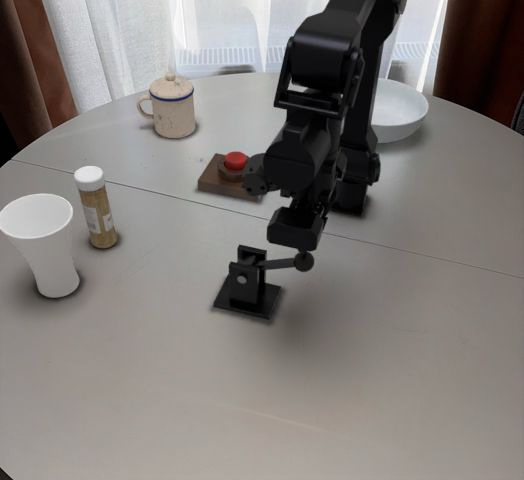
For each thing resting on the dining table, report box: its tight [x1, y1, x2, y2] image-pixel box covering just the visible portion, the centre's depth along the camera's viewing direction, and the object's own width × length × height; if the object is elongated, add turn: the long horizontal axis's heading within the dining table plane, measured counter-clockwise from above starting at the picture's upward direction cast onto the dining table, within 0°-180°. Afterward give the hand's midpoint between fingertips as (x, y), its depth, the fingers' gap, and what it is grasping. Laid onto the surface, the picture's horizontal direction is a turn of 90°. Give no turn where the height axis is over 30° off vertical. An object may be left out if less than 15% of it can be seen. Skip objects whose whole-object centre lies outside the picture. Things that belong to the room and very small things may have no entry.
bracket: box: [212, 244, 282, 321], centre depth 88 cm, size 9×7×9 cm
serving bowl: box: [341, 77, 430, 144], centre depth 123 cm, size 21×21×7 cm
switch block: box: [197, 152, 263, 203], centre depth 111 cm, size 12×10×4 cm
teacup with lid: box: [136, 71, 196, 139], centre depth 120 cm, size 12×9×12 cm
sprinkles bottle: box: [73, 165, 118, 249], centre depth 95 cm, size 5×5×14 cm
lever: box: [236, 251, 315, 273], centre depth 84 cm, size 12×3×3 cm, turn 73°
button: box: [225, 151, 247, 171], centre depth 109 cm, size 4×4×2 cm
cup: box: [0, 193, 80, 299], centre depth 88 cm, size 10×10×14 cm
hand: (304, 247), depth 80 cm, fingers closed
